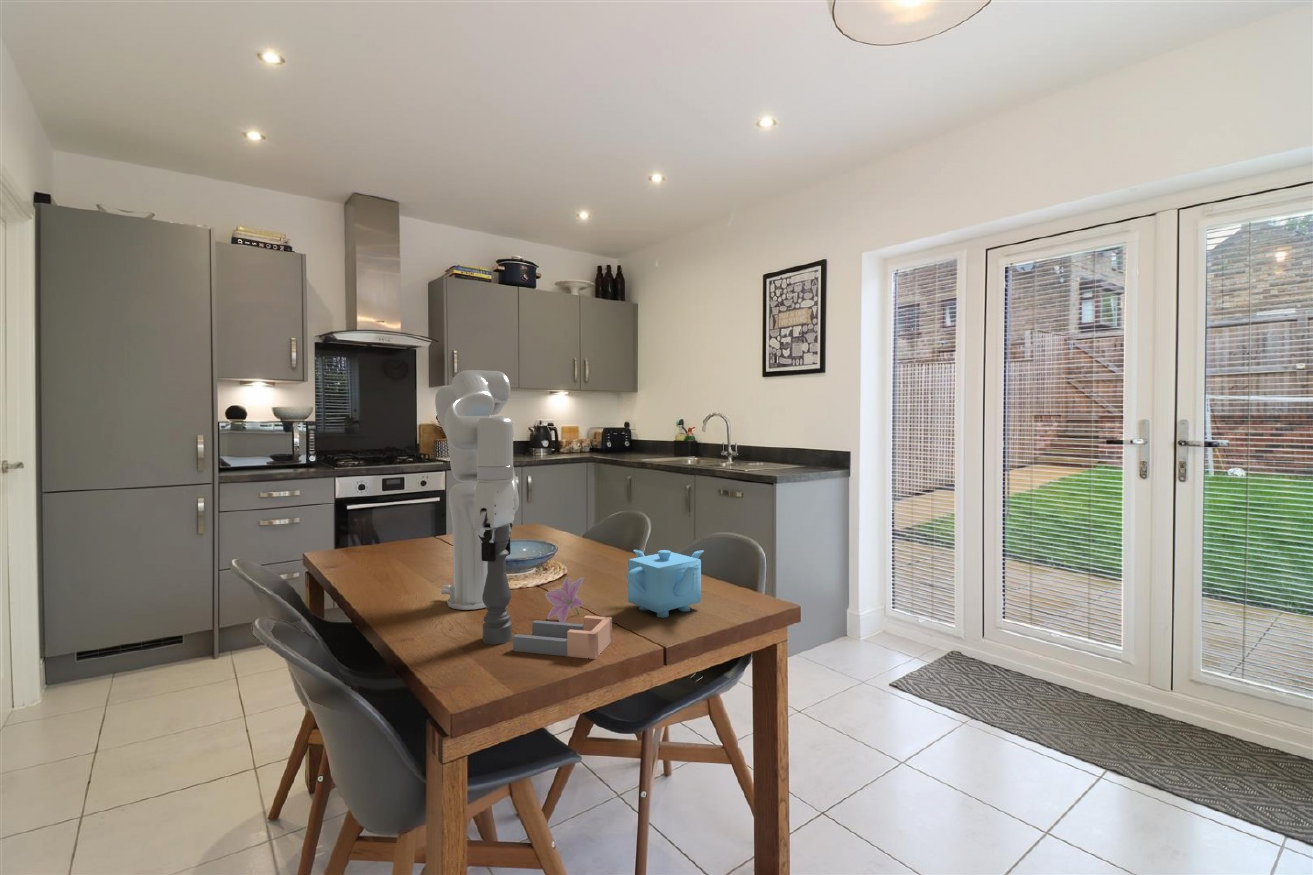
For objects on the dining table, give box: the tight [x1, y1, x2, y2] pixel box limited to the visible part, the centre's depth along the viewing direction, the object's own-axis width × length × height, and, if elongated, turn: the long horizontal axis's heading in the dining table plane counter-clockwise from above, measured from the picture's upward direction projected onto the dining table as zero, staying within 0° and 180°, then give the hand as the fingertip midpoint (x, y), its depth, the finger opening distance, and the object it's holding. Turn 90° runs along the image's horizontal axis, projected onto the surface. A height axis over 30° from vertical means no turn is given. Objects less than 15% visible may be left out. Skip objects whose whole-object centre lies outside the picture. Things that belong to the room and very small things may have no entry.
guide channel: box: [512, 615, 613, 660], centre depth 129 cm, size 18×10×5 cm, turn 76°
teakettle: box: [626, 549, 705, 619], centre depth 154 cm, size 19×19×15 cm
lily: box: [544, 576, 585, 623], centre depth 147 cm, size 12×12×10 cm
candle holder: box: [482, 524, 513, 646], centre depth 132 cm, size 6×6×25 cm
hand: (496, 556), depth 132 cm, fingers closed on candle holder, 5 cm apart
